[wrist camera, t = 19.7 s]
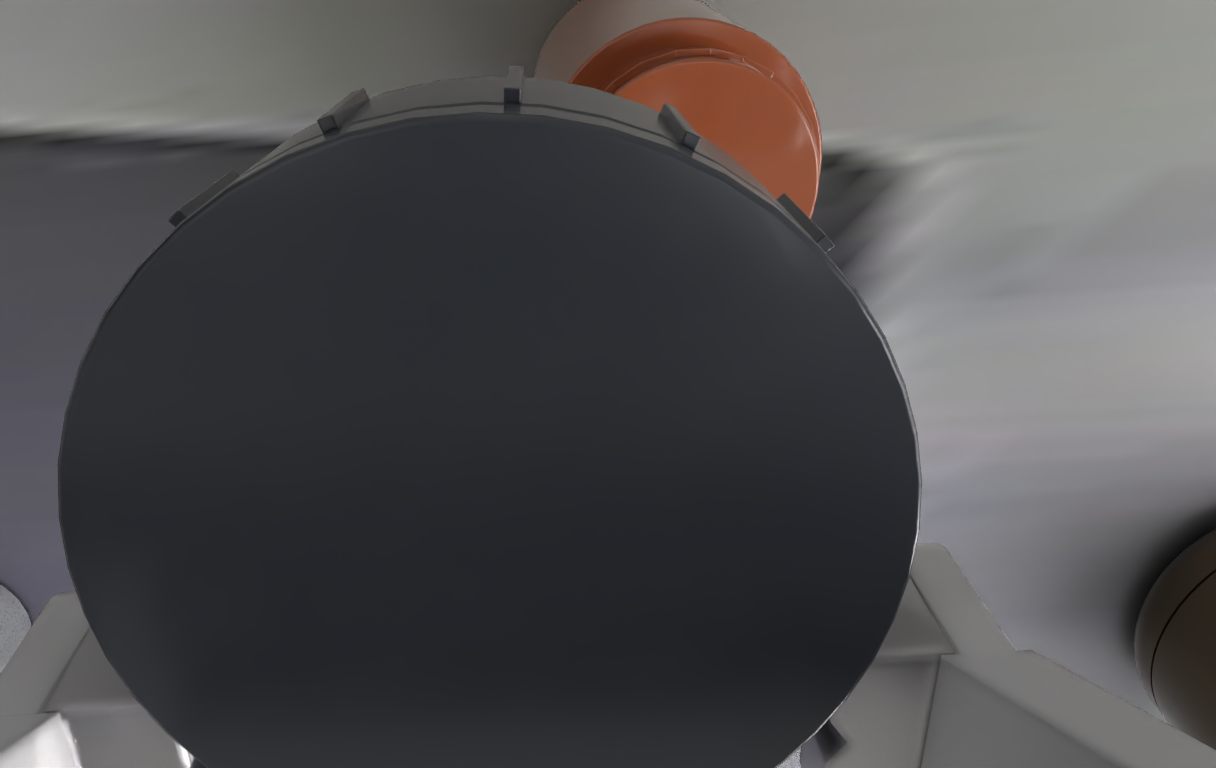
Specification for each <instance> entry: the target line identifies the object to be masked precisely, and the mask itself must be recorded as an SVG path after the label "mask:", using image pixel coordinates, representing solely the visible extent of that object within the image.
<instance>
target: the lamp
mask: <svg viewBox="0 0 1216 768" xmlns="http://www.w3.org/2000/svg"><path fill="white" fill-rule="evenodd" d="M1134 654H1135V662H1136V667H1137V671H1138V674H1139V677H1140V680H1141V683H1142V685H1143V687H1144V689H1145V691H1146V692H1147V694H1148V696H1149V697H1150V699H1151V700H1152V702H1153V703H1154V704H1155V706H1156V707H1157V708H1158V709H1159V711H1160V712H1161V713H1162V714H1163V716H1164V717H1165V718H1166V719H1167V721H1168V722H1169V723H1170V725H1171V726H1172V727H1174V728H1176V729H1178V730H1179V731H1181V732H1183V733H1185V734H1187V735H1189V736H1190V737H1192V738H1194V739H1196V740H1198V741H1200V742H1201V743H1203V744H1205V745H1207V746H1209V747H1211V748H1212V749H1214V750H1216V529H1215V530H1213V531H1211V532H1210V533H1208V534H1206V535H1205V536H1203V537H1202V538H1200V539H1199V540H1197V541H1196V542H1195V543H1193V544H1192V545H1191V546H1189V547H1188V548H1187V549H1185V550H1184V551H1183V552H1182V553H1181V554H1180V555H1179V556H1177V557H1176V558H1175V559H1174V560H1173V561H1172V562H1171V563H1170V565H1169V566H1168V567H1167V568H1166V569H1165V570H1164V571H1163V573H1162V574H1161V575H1160V576H1159V578H1158V579H1157V580H1156V582H1155V583H1154V585H1153V586H1152V588H1151V590H1150V591H1149V593H1148V595H1147V597H1146V599H1145V601H1144V603H1143V606H1142V608H1141V611H1140V614H1139V617H1138V620H1137V624H1136V629H1135V638H1134Z"/></svg>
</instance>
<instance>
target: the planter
mask: <svg viewBox="0 0 1216 768" xmlns="http://www.w3.org/2000/svg"><path fill="white" fill-rule="evenodd" d="M31 627H32V626H31V622H30V619H29V616H28V614H27V612H26V610H25V609H24V607H23V605H22V604H21V603H20V601H19V600H18V599H17V598H16V597H15V596H14V595H13V594H12V593H11V592H10V591H9V590H8V589H6V588H5V587H4V586H2V585H1V584H0V674H1V673H2V671H3V670H4V668H5V667H6V665H7V663H8V662H9V660H10V659H11V657H12V656H13V654H14V653H15V651H16V650H17V648H18V647H19V645H20V644H21V642H22V640H23V639H24V637H25V636H26V634H27V633H28V631H29V630H30V628H31Z"/></svg>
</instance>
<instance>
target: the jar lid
mask: <svg viewBox="0 0 1216 768" xmlns="http://www.w3.org/2000/svg"><path fill="white" fill-rule="evenodd" d="M169 222H170V223H172V224H173V225H174V226H175V228H174V229H173V230H172V231H171V232H170V234H169V235H168V236H167V237H166V238H165V239H164V240H163V241H162V242H161V243H160V244H159V245H158V246H157V247H156V248H155V249H154V250H153V251H152V252H151V253H150V254H149V255H148V256H147V257H146V258H145V259H144V260H143V261H142V262H141V263H140V264H139V265H138V267H137V268H136V269H135V271H134V272H133V274H132V275H131V276H130V278H129V279H128V281H127V282H126V283H125V285H124V286H123V288H122V289H121V290H120V292H119V293H118V295H117V296H116V298H115V299H114V300H113V302H112V303H111V305H110V306H109V307H108V309H107V310H106V312H105V313H104V315H103V317H102V319H101V321H100V323H99V325H98V327H97V329H96V332H95V334H94V336H93V338H92V340H91V342H90V344H89V346H88V348H87V350H86V352H85V354H84V356H83V358H82V360H81V362H80V365H79V368H78V372H77V375H76V378H75V381H74V385H73V388H72V391H71V394H70V398H69V401H68V404H67V407H66V411H65V415H64V422H63V430H62V437H61V444H60V451H59V459H58V500H59V521H60V527H61V532H62V538H63V544H64V549H65V555H66V560H67V566H68V569H69V572H70V575H71V578H72V581H73V584H74V587H75V590H76V593H77V596H78V599H79V602H80V605H81V607H82V610H83V613H84V615H85V617H86V619H87V621H88V623H89V625H90V627H91V629H92V631H93V633H94V635H95V637H96V639H97V641H98V643H99V645H100V647H101V649H102V651H103V653H104V655H105V657H106V658H107V660H108V661H109V663H110V664H111V665H112V667H113V668H114V670H115V671H116V673H117V674H118V675H119V677H120V678H121V680H122V681H123V683H124V684H125V686H126V687H127V688H128V690H129V691H130V693H131V694H132V696H133V697H134V698H135V699H136V700H137V702H138V703H139V704H140V705H141V706H142V707H143V708H144V709H145V710H146V711H147V713H148V714H149V715H150V716H151V717H152V718H153V719H154V720H155V721H156V723H157V724H158V725H159V726H160V727H161V728H162V729H163V730H164V731H165V732H166V734H168V735H169V736H170V737H171V738H172V739H173V740H175V741H176V742H177V743H178V744H179V745H180V746H182V747H183V748H184V749H185V750H186V751H187V752H188V753H190V754H191V755H192V756H193V757H194V758H195V759H197V760H198V761H199V762H200V763H201V764H202V765H204V766H205V767H206V768H776V767H778V766H779V765H781V764H782V763H783V762H784V761H785V760H787V759H788V758H789V757H790V756H791V755H792V754H793V753H795V752H796V751H797V750H798V749H799V748H800V747H801V746H802V745H804V744H805V743H806V742H807V741H808V740H809V739H810V738H812V737H813V736H814V735H815V734H816V733H817V732H818V731H819V730H820V729H821V727H822V726H823V725H824V724H825V723H826V722H827V721H828V720H829V719H830V717H831V716H832V715H833V714H834V713H835V712H836V711H837V710H838V709H839V707H840V706H841V705H842V704H843V703H844V702H845V701H846V700H847V698H848V697H849V695H850V694H851V693H852V691H853V690H854V688H855V687H856V685H857V684H858V682H859V681H860V680H861V678H862V677H863V675H864V674H865V672H866V671H867V669H868V668H869V667H870V665H871V664H872V662H873V661H874V659H875V657H876V655H877V653H878V651H879V649H880V647H881V645H882V643H883V641H884V639H885V637H886V636H887V634H888V632H889V630H890V628H891V626H892V624H893V622H894V620H895V617H896V614H897V611H898V609H899V606H900V603H901V600H902V597H903V595H904V592H905V589H906V586H907V583H908V580H909V578H910V573H911V568H912V563H913V558H914V554H915V549H916V544H917V539H918V534H919V526H920V508H921V489H922V476H921V466H920V455H919V445H918V434H917V429H916V425H915V421H914V417H913V413H912V409H911V405H910V402H909V398H908V394H907V390H906V386H905V383H904V380H903V378H902V375H901V373H900V371H899V368H898V366H897V364H896V361H895V359H894V356H893V354H892V352H891V349H890V347H889V345H888V342H887V340H886V337H885V335H884V334H883V332H882V330H881V329H880V327H879V326H878V324H877V322H876V321H875V319H874V317H873V316H872V314H871V312H870V311H869V309H868V308H867V306H866V304H865V303H864V301H863V299H862V298H861V296H860V294H859V293H858V291H857V290H856V288H855V287H854V286H853V285H852V284H851V282H850V281H849V280H848V279H847V278H846V277H845V275H844V274H843V273H842V272H841V271H840V269H839V268H838V267H837V266H836V265H835V263H834V262H833V261H832V260H831V259H830V257H829V256H828V255H827V254H826V252H828V251H829V250H830V249H831V248H832V247H834V244H833V243H832V241H831V240H830V239H829V238H828V236H827V235H826V234H825V233H824V232H823V231H822V230H821V229H820V228H819V227H818V226H817V225H816V224H815V223H814V222H813V221H812V220H811V219H810V218H809V217H808V216H807V215H806V214H805V213H804V212H803V211H802V210H801V209H800V208H799V207H798V206H797V205H796V204H795V203H794V202H793V201H792V200H791V199H790V198H789V197H788V196H787V195H786V194H785V193H783V194H782V195H781V196H780V197H779V198H777V199H776V198H775V197H774V196H773V195H772V194H771V193H770V192H769V190H768V189H767V188H766V187H765V186H764V185H763V184H762V183H761V182H759V181H758V180H757V179H756V178H755V177H754V176H753V175H752V174H750V173H749V172H748V171H747V170H746V169H745V168H744V167H743V166H742V165H740V164H739V163H738V162H737V161H736V160H735V159H734V158H733V157H732V156H730V155H729V154H728V153H727V152H725V151H724V150H722V149H721V148H719V147H718V146H716V145H715V144H713V143H712V142H710V141H709V140H707V139H706V138H704V137H703V136H701V135H700V134H698V133H697V132H695V130H694V129H693V128H692V127H691V126H690V124H689V123H688V122H687V121H686V119H685V118H684V117H683V116H682V115H681V113H680V112H679V111H678V110H677V109H676V108H675V107H673V106H671V105H669V104H667V103H664V105H663V107H662V109H661V111H660V112H657V111H655V110H653V109H651V108H649V107H647V106H645V105H643V104H640V103H637V102H634V101H631V100H628V99H625V98H622V97H619V96H616V95H613V94H610V93H607V92H604V91H601V90H598V89H595V88H591V87H585V86H580V85H575V84H569V83H564V82H559V81H553V80H548V79H543V78H524V67H523V66H512V65H511V66H509V70H508V74H507V77H502V76H483V77H472V78H460V79H448V80H437V81H433V82H429V83H424V84H420V85H415V86H411V87H406V88H402V89H398V90H393V91H389V92H385V93H383V94H380V95H378V96H375V97H372V98H370V99H368V96H367V94H366V91H365V89H364V88H362V89H360V90H357V91H354V92H352V93H350V94H349V95H348V96H347V97H345V98H344V99H343V100H342V101H340V102H339V103H338V104H337V105H335V106H334V107H333V108H332V109H330V110H329V111H328V112H327V113H325V114H324V115H323V116H322V117H320V118H319V119H318V120H317V122H316V123H315V124H313V125H311V126H309V127H307V128H305V129H304V130H302V131H300V132H298V133H296V134H295V135H293V136H292V137H291V138H289V139H288V140H287V141H285V142H284V143H283V144H281V145H280V146H279V147H277V148H276V149H275V150H273V151H272V152H271V153H269V154H268V155H267V156H265V157H264V158H263V159H261V160H260V161H259V162H257V163H256V164H255V165H254V166H252V167H251V168H250V169H248V170H247V171H246V172H245V173H243V174H242V175H241V176H239V175H238V174H237V173H236V172H235V171H234V170H231V171H230V172H229V173H227V174H226V175H225V176H223V177H222V178H221V179H219V180H218V181H216V182H215V183H214V184H212V185H211V186H210V187H208V188H207V189H206V190H204V191H203V192H202V193H200V194H199V195H198V196H196V197H195V198H193V199H192V200H191V201H189V202H188V203H187V204H185V205H184V206H183V207H181V208H180V209H179V210H177V211H176V212H175V213H174V214H173V215H172V217H171V218H170V219H169Z"/></svg>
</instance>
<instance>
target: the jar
mask: <svg viewBox="0 0 1216 768" xmlns="http://www.w3.org/2000/svg"><path fill="white" fill-rule="evenodd" d="M534 78H543V79H548V80H553V81H559V82H564V83H569V84H575V85H580V86H585V87H591V88H595V89H598V90H601V91H604V92H607V93H610V94H613V95H616V96H619V97H622V98H625V99H628V100H631V101H634V102H637V103H640V104H643V105H645V106H647V107H649V108H651V109H653V110H655V111H657V112H660V111H661V109H662V107H663V105H664V103H667V104H669V105H671V106H673V107H675V108H676V109H677V110H678V111H679V112H680V113H681V115H682V116H683V117H684V118H685V119H686V121H687V122H688V123H689V124H690V126H691V127H692V128H693V129H694V130H695V132H697V133H698V134H700V135H701V136H703V137H704V138H706V139H707V140H709V141H710V142H712V143H713V144H715V145H716V146H718V147H719V148H721V149H722V150H724V151H725V152H727V153H728V154H729V155H730V156H732V157H733V158H734V159H735V160H736V161H737V162H738V163H739V164H740V165H742V166H743V167H744V168H745V169H746V170H747V171H748V172H749V173H750V174H752V175H753V176H754V177H755V178H756V179H757V180H758V181H759V182H761V183H762V184H763V185H764V186H765V187H766V188H767V189H768V190H769V192H770V193H771V194H772V195H773V196H774V197H775V198H776V199H777V198H779V197H780V196H781V195H782V194H783V193H785V194H786V195H787V196H788V197H789V198H790V199H791V200H792V201H793V202H794V203H795V204H796V205H797V206H798V207H799V208H800V209H801V210H802V211H803V212H804V213H805V214H806V215H807V216H808V217H809V218H810V219H811V217H812V214H813V211H814V208H815V204H816V199H817V195H818V187H819V178H820V172H821V163H822V137H821V130H820V124H819V119H818V115H817V112H816V109H815V105H814V102H813V100H812V98H811V96H810V93H809V91H808V89H807V87H806V85H805V83H804V82H803V80H802V79H801V77H800V75H799V74H798V72H797V71H796V69H795V68H794V67H793V66H792V65H791V64H790V62H789V61H788V60H787V59H786V58H785V57H784V56H783V55H782V54H781V53H780V52H779V51H778V50H777V49H775V48H774V47H773V46H772V45H771V44H770V43H768V42H766V41H765V40H763V39H762V38H760V37H759V36H757V35H756V34H754V33H752V32H751V31H749V30H747V29H746V28H744V27H742V26H740V25H739V24H737V23H735V22H734V21H732V20H730V19H728V18H727V17H725V16H723V15H722V14H720V13H718V12H716V11H715V10H713V9H711V8H710V7H708V6H706V5H704V4H703V3H701V2H699V1H698V0H582V1H580V2H579V3H578V4H576V5H575V6H574V7H573V8H571V9H570V10H569V11H568V12H567V13H566V14H565V15H564V16H563V17H562V18H561V19H560V20H559V21H558V23H557V24H556V25H555V27H554V28H553V30H552V31H551V32H550V34H549V36H548V38H547V39H546V41H545V43H544V45H543V47H542V50H541V52H540V55H539V57H538V60H537V64H536V68H535V72H534Z"/></svg>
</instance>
